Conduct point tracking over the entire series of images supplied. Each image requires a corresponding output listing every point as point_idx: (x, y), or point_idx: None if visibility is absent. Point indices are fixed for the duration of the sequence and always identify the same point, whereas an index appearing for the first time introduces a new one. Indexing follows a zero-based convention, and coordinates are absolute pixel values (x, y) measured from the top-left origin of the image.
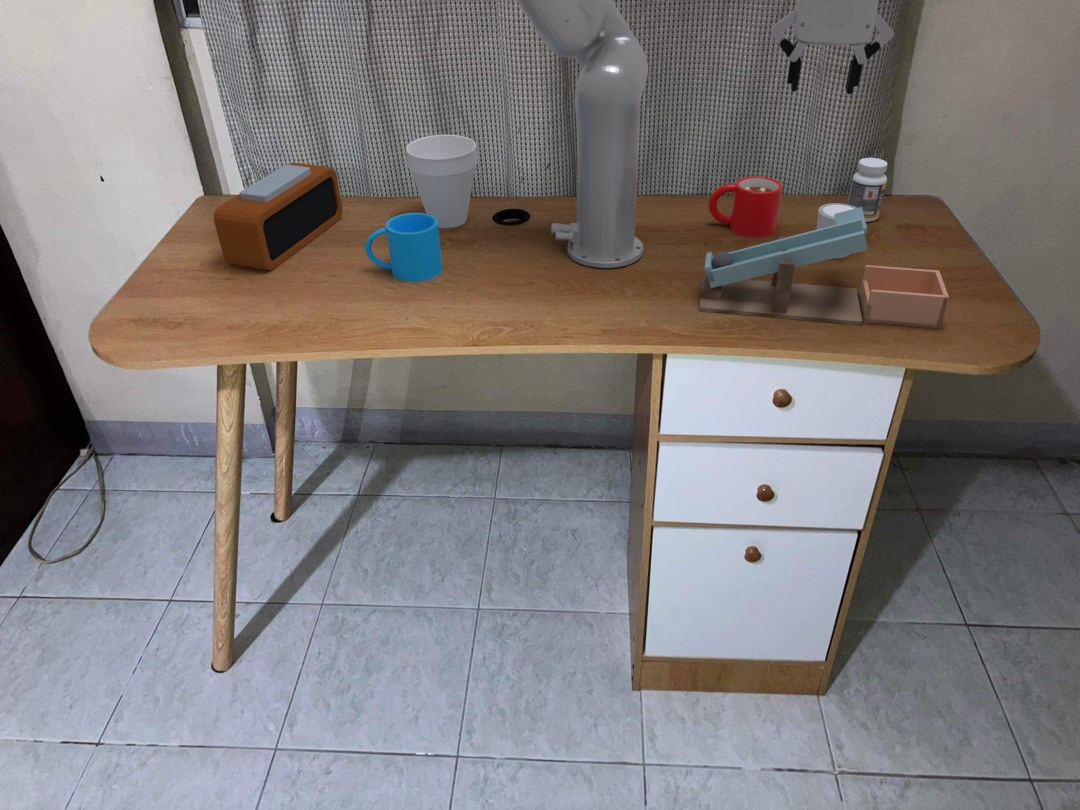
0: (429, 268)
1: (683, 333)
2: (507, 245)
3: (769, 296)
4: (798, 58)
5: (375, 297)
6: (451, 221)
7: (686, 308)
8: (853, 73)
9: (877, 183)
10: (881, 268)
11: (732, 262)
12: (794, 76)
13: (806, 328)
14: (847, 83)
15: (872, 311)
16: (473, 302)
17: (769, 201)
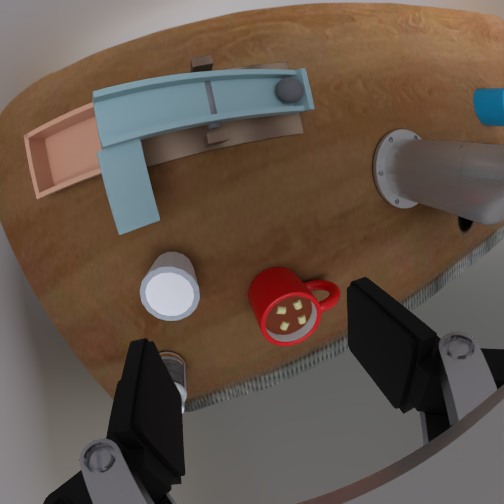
0: (480, 93)
1: (287, 22)
2: None
3: None
4: (431, 367)
5: (480, 67)
6: None
7: (299, 66)
8: (129, 396)
9: None
10: (90, 171)
11: (277, 87)
12: (395, 301)
13: (165, 67)
14: (165, 386)
15: None
16: (444, 60)
17: (269, 296)
